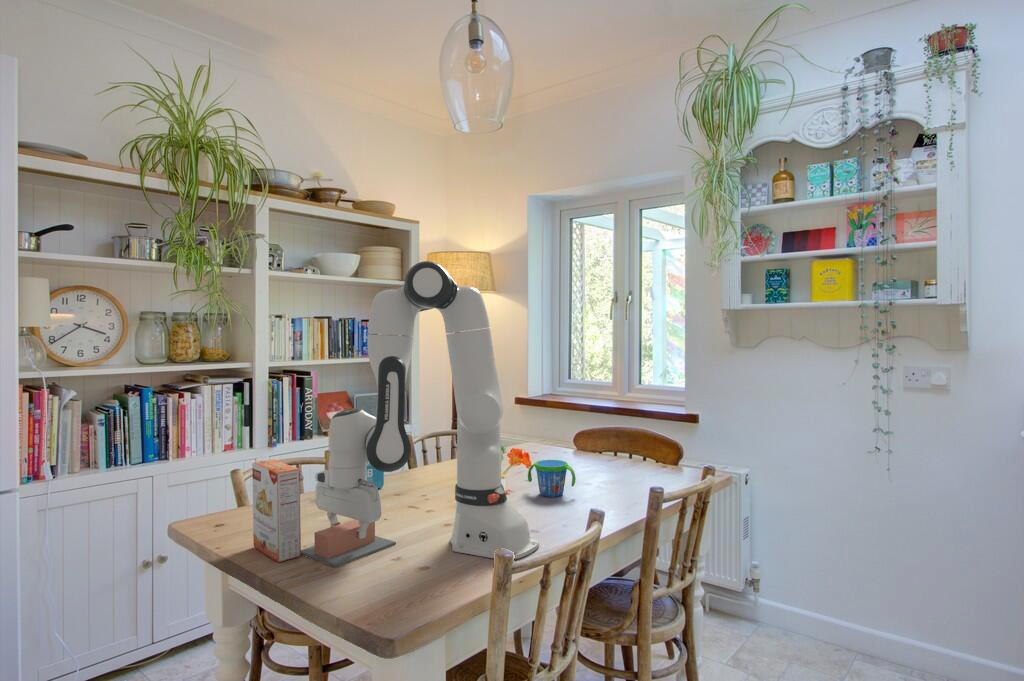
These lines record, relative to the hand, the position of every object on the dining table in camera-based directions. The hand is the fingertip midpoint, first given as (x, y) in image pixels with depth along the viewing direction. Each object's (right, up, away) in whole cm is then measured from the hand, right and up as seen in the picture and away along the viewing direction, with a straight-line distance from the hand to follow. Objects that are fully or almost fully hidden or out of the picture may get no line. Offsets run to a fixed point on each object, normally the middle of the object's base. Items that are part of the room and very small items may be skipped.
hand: (348, 533), depth 148 cm
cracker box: (-16, -4, -2) cm, 17 cm away
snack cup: (+52, -3, +49) cm, 71 cm away
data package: (-9, -3, +53) cm, 54 cm away
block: (-4, -1, -6) cm, 8 cm away
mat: (0, -4, 0) cm, 4 cm away
